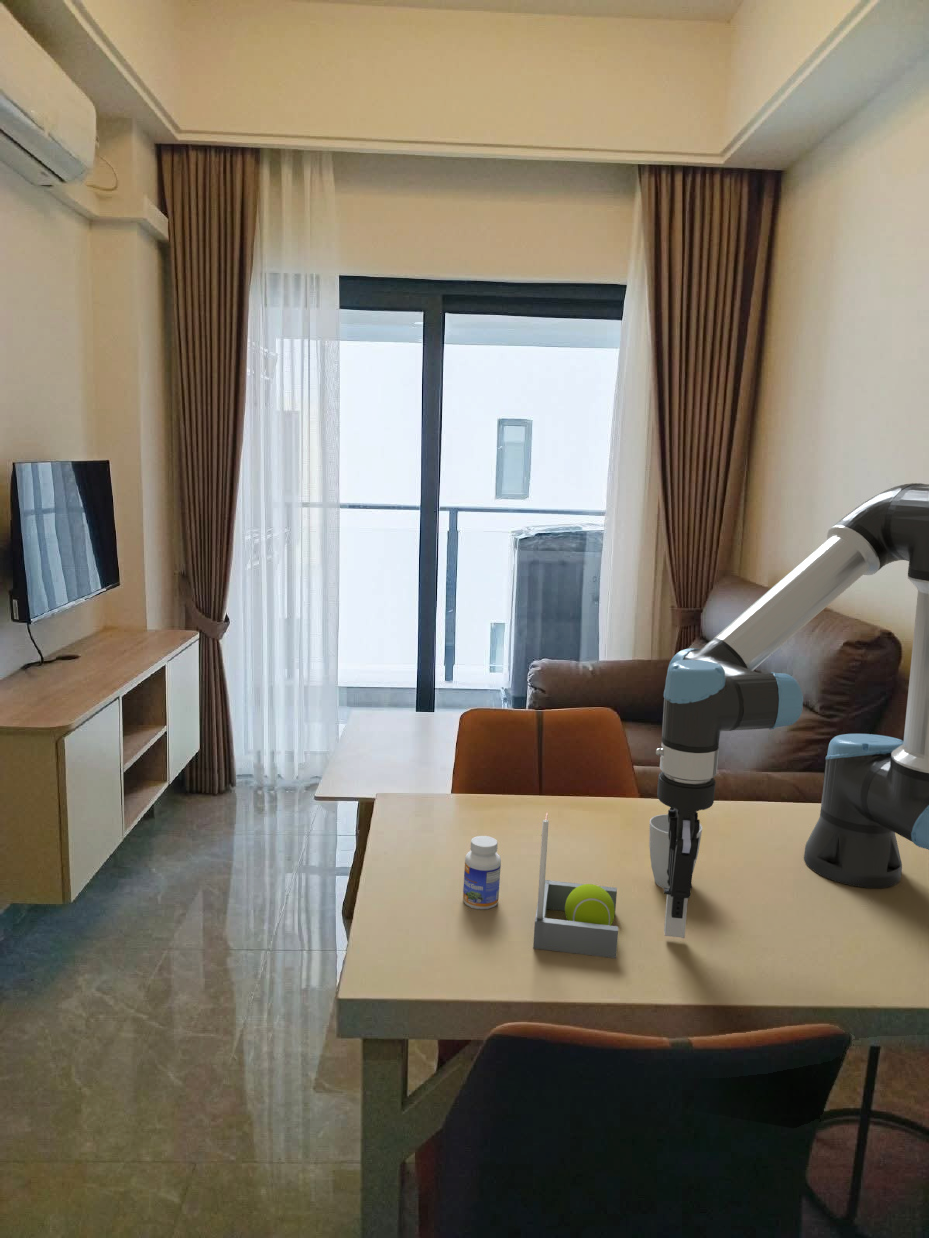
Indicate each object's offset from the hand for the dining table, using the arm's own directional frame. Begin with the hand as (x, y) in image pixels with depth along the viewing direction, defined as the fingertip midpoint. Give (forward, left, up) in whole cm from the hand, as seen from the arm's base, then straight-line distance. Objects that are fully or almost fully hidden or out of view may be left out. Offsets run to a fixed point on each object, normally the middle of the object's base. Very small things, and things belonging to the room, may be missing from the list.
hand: (674, 933), depth 122 cm
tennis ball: (+12, +1, -1) cm, 12 cm away
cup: (-1, -18, -1) cm, 18 cm away
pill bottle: (+28, -5, -1) cm, 28 cm away
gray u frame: (+13, 0, -1) cm, 13 cm away
